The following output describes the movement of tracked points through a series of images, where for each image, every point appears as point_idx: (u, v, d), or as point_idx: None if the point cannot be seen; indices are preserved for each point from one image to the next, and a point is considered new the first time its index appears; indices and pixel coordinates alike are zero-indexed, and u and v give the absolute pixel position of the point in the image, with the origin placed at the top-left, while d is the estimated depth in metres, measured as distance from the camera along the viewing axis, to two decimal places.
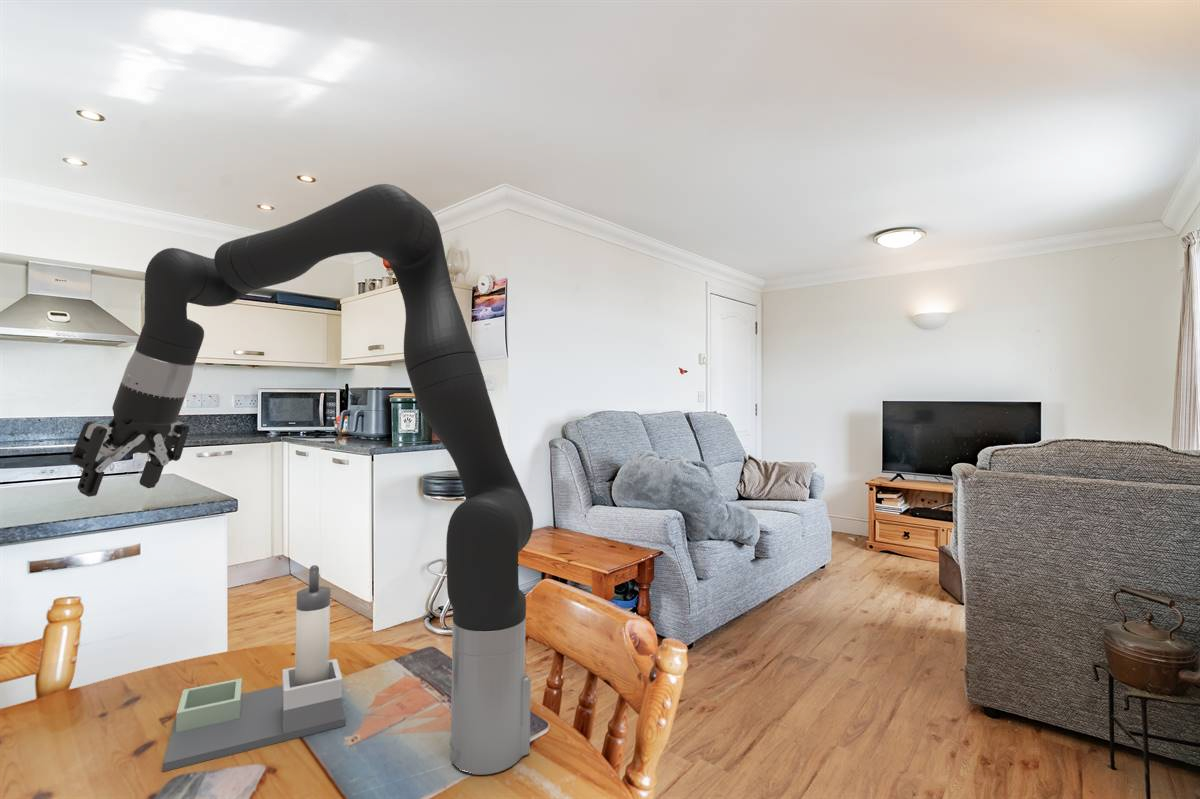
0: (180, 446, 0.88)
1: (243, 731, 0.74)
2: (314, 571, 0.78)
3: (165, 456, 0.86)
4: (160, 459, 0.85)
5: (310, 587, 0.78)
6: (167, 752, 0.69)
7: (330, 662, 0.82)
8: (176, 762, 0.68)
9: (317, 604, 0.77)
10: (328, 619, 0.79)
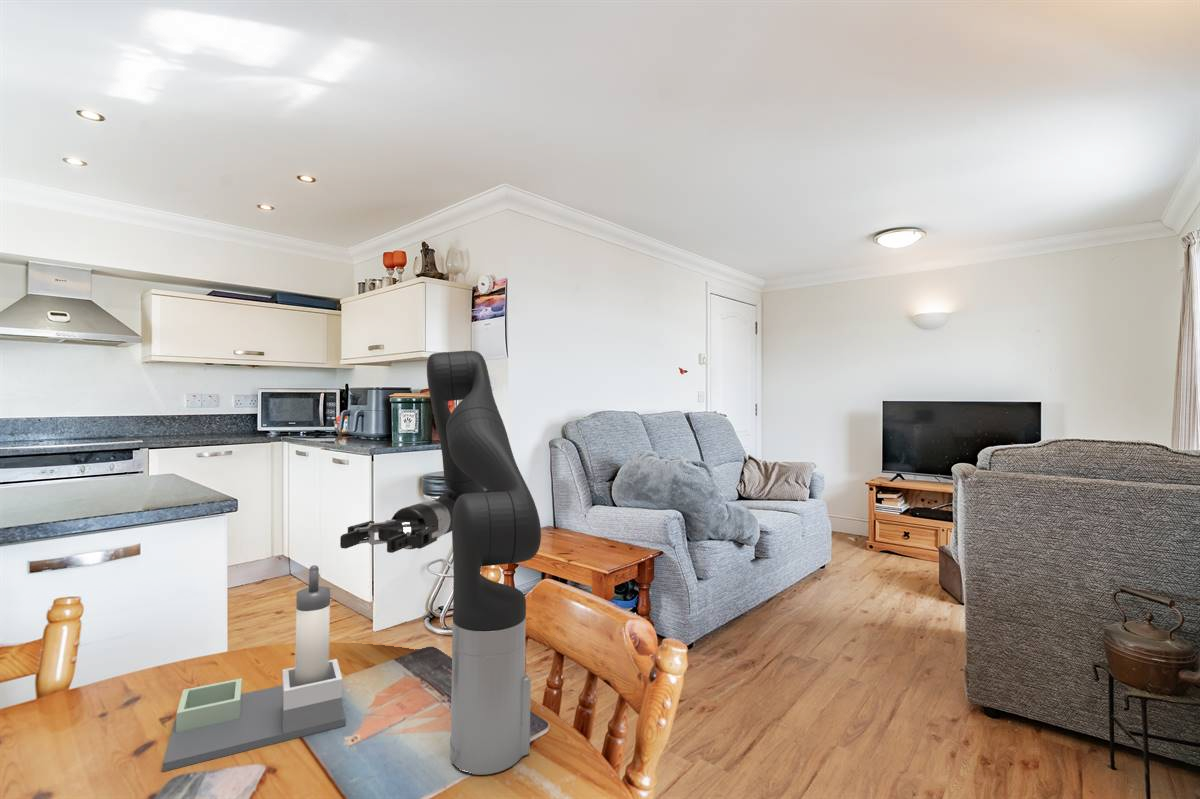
0: (425, 530, 0.95)
1: (243, 731, 0.74)
2: (314, 571, 0.78)
3: (409, 531, 0.94)
4: (404, 531, 0.93)
5: (310, 587, 0.78)
6: (167, 752, 0.69)
7: (330, 662, 0.82)
8: (176, 762, 0.68)
9: (317, 604, 0.77)
10: (328, 619, 0.79)
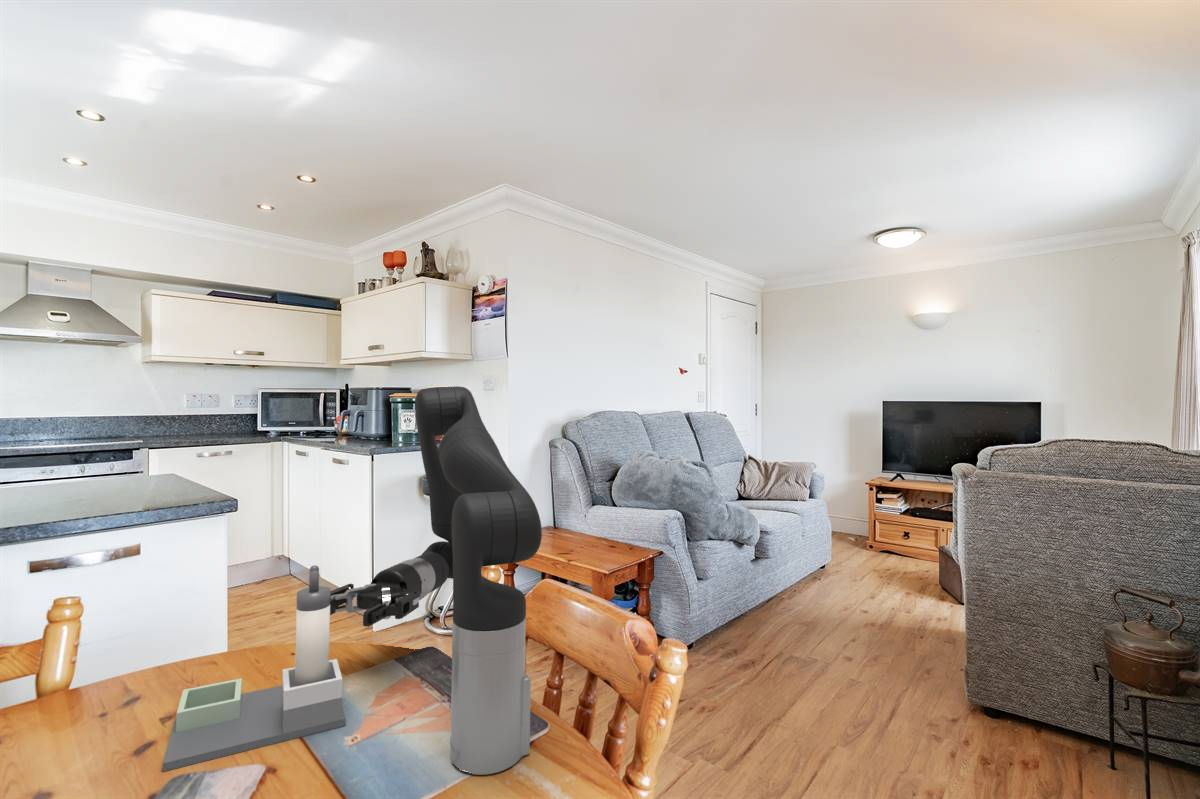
0: (406, 597, 0.89)
1: (243, 731, 0.74)
2: (314, 571, 0.78)
3: (389, 599, 0.88)
4: (383, 600, 0.88)
5: (310, 587, 0.78)
6: (167, 752, 0.69)
7: (330, 662, 0.82)
8: (176, 762, 0.68)
9: (317, 604, 0.77)
10: (328, 619, 0.79)
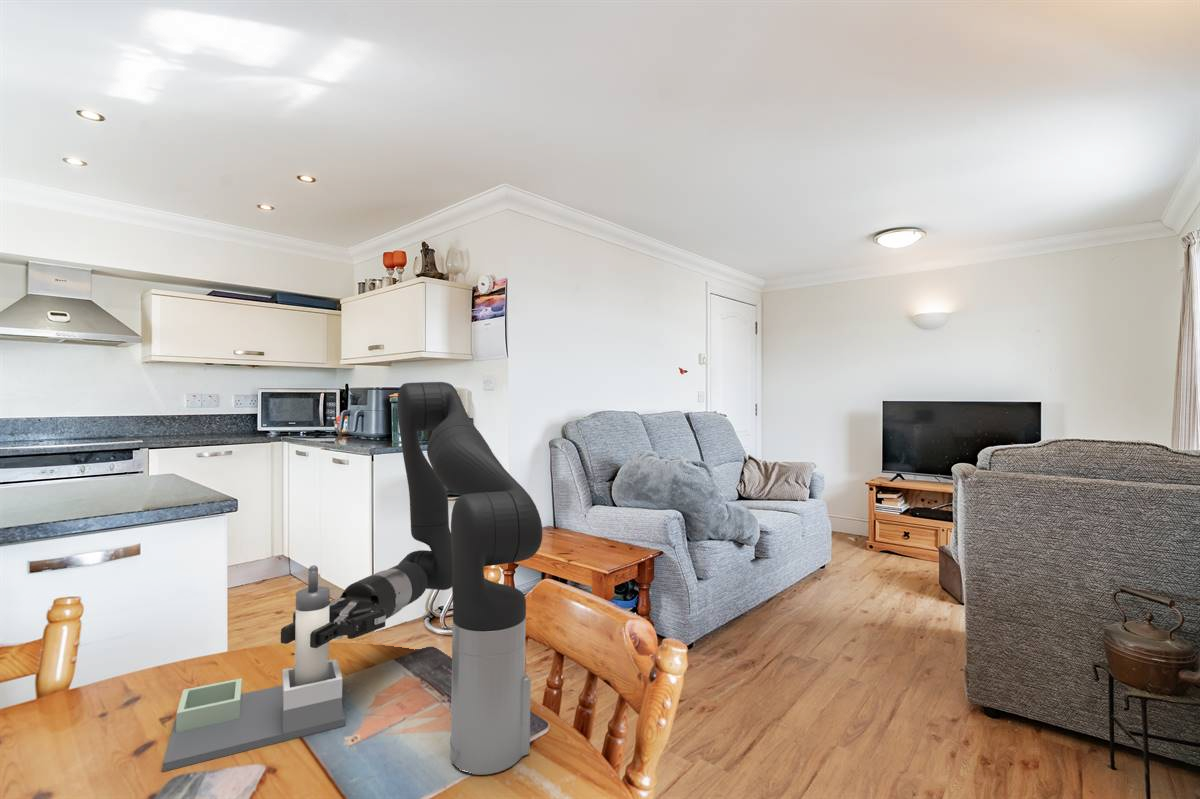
0: (364, 615, 0.81)
1: (243, 731, 0.74)
2: (313, 571, 0.78)
3: (341, 617, 0.80)
4: (338, 617, 0.80)
5: (309, 587, 0.78)
6: (167, 752, 0.69)
7: (330, 662, 0.82)
8: (176, 762, 0.68)
9: (316, 604, 0.77)
10: (327, 619, 0.79)
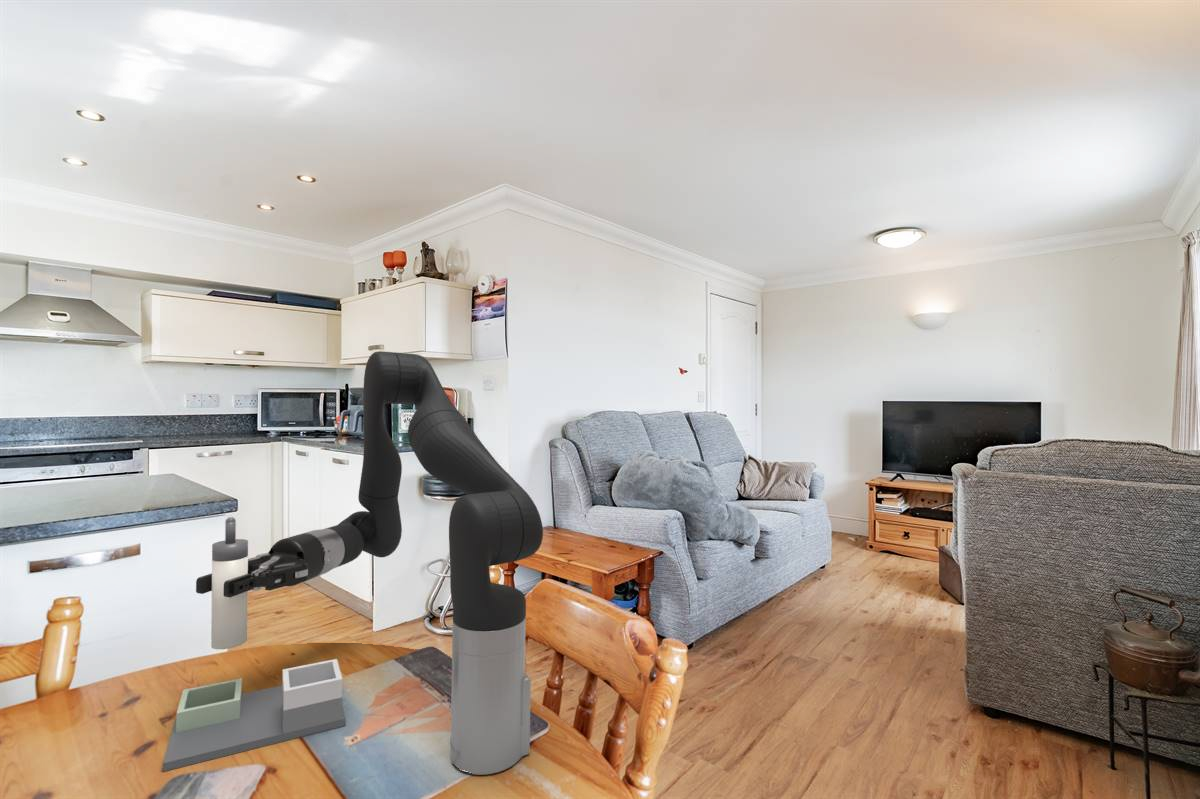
0: (284, 568, 0.82)
1: (243, 731, 0.74)
2: (230, 523, 0.79)
3: (260, 569, 0.81)
4: (257, 570, 0.81)
5: (226, 538, 0.78)
6: (167, 752, 0.69)
7: (330, 662, 0.82)
8: (176, 762, 0.68)
9: (232, 555, 0.77)
10: (245, 570, 0.79)
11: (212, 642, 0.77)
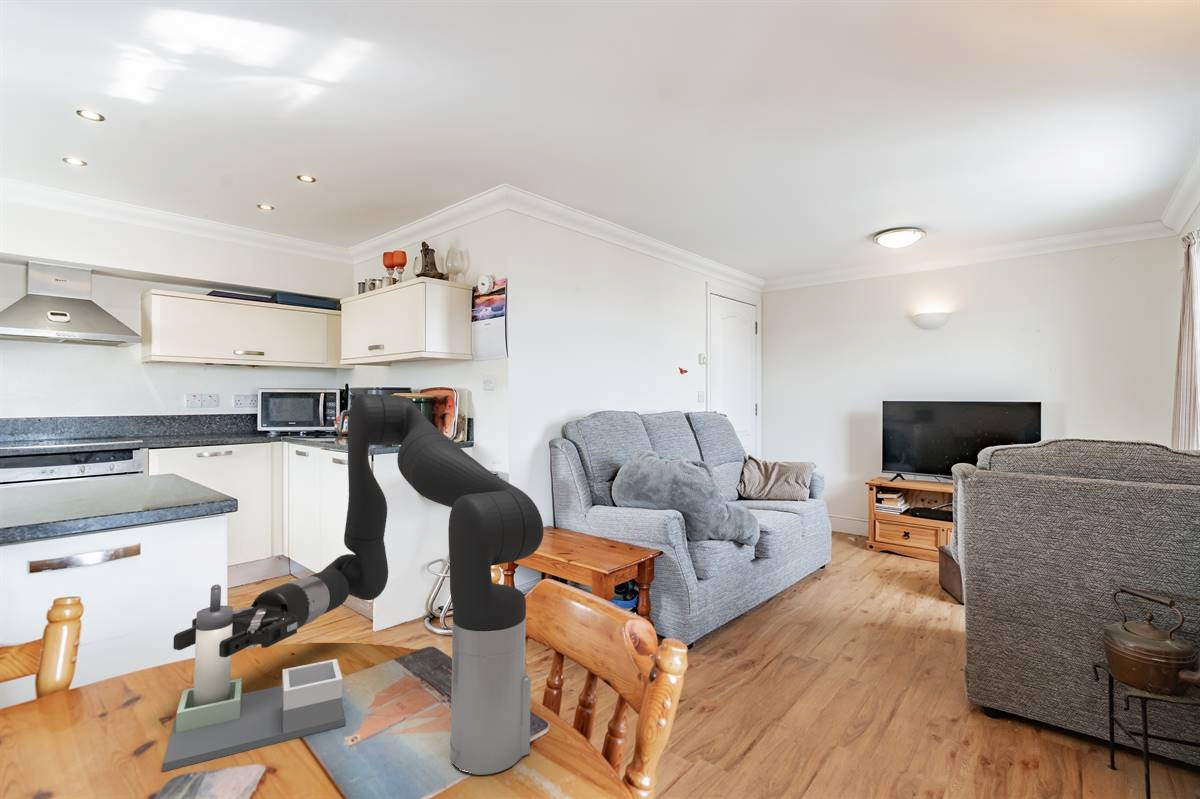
0: (277, 623, 0.82)
1: (243, 731, 0.74)
2: (215, 590, 0.78)
3: (256, 626, 0.81)
4: (250, 626, 0.80)
5: (211, 606, 0.78)
6: (167, 752, 0.69)
7: (330, 662, 0.82)
8: (176, 762, 0.68)
9: (216, 624, 0.77)
10: None
11: None
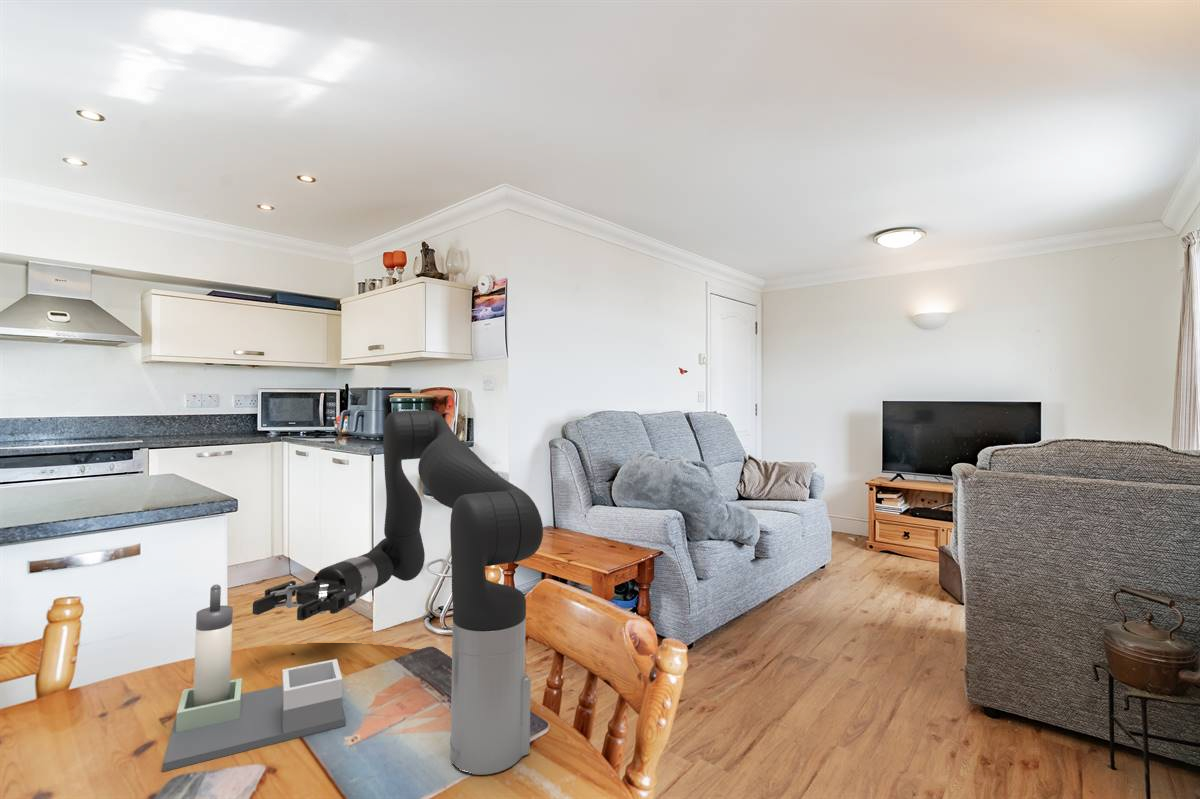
0: (341, 593, 0.94)
1: (243, 731, 0.74)
2: (215, 590, 0.78)
3: (324, 595, 0.93)
4: (319, 596, 0.93)
5: (210, 606, 0.78)
6: (167, 752, 0.69)
7: (330, 662, 0.82)
8: (176, 762, 0.68)
9: (216, 624, 0.77)
10: (229, 638, 0.79)
11: None
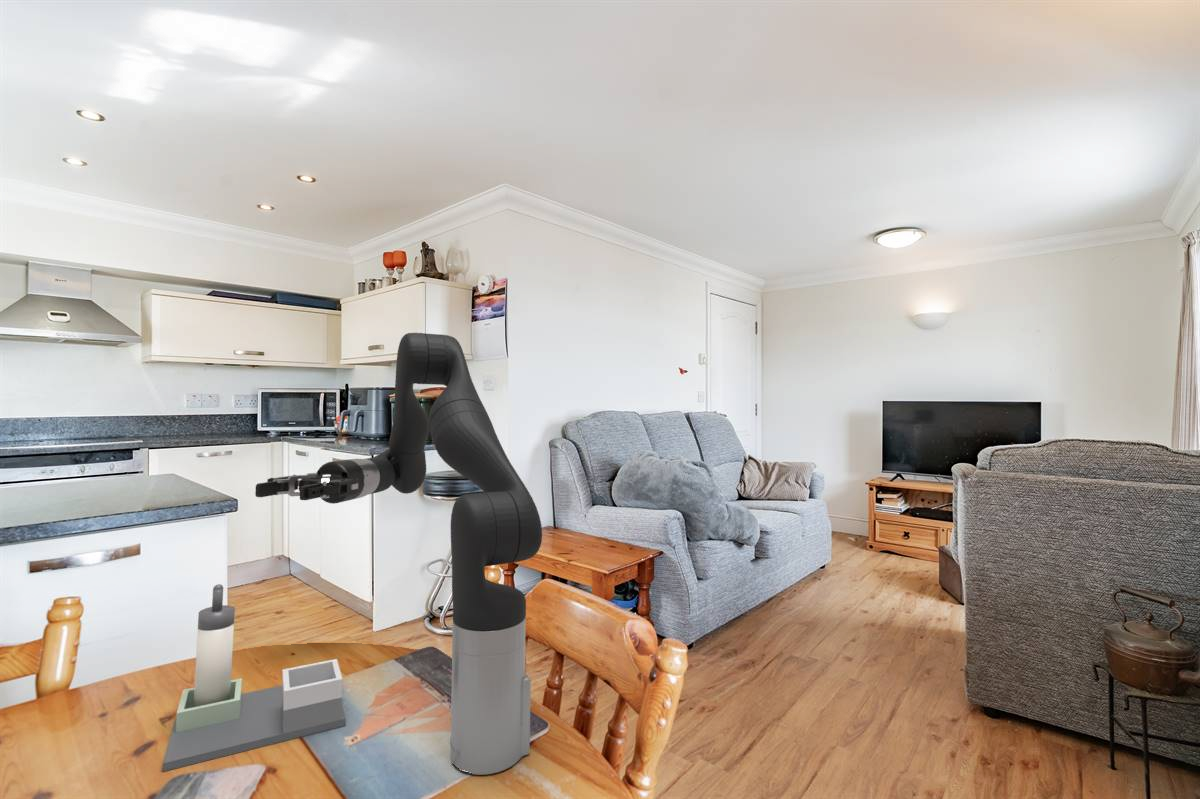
0: (344, 481, 0.95)
1: (243, 731, 0.74)
2: (217, 590, 0.78)
3: (327, 481, 0.94)
4: (322, 482, 0.93)
5: (213, 606, 0.78)
6: (167, 752, 0.69)
7: (330, 662, 0.82)
8: (176, 762, 0.68)
9: (218, 624, 0.77)
10: (230, 638, 0.79)
11: None
